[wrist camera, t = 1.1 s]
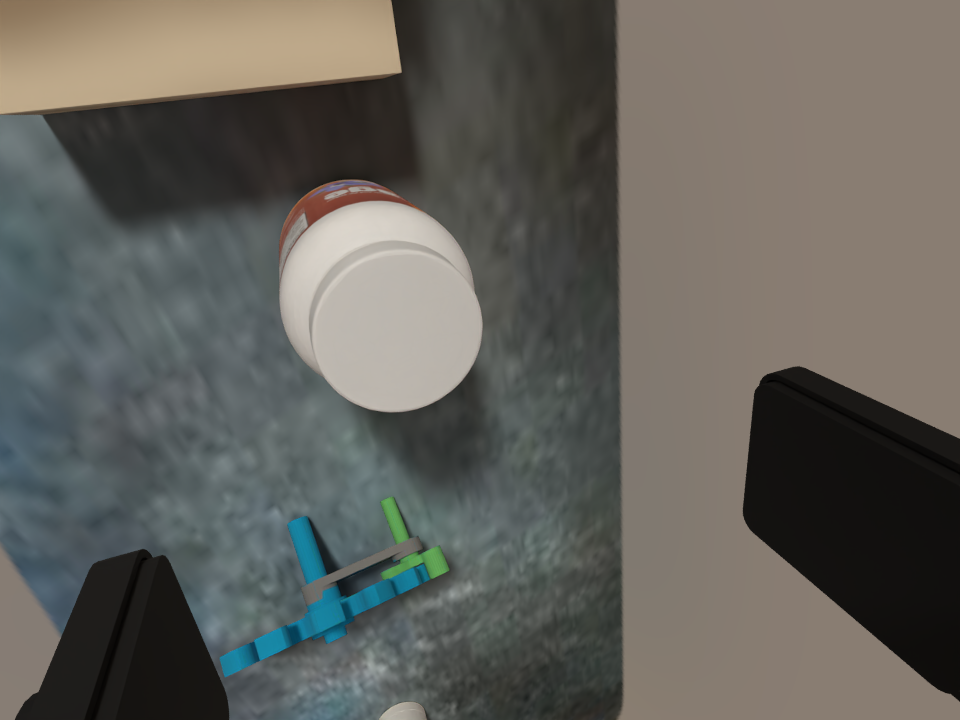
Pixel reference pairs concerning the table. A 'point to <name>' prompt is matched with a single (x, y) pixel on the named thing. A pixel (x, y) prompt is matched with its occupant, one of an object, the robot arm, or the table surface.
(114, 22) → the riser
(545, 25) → the table surface
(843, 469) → the robot arm
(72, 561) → the table surface
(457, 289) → the pill bottle
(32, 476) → the table surface
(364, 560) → the gear
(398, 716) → the white flanged pipe fitting
